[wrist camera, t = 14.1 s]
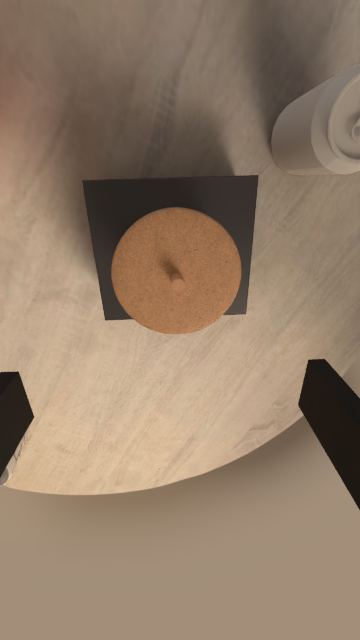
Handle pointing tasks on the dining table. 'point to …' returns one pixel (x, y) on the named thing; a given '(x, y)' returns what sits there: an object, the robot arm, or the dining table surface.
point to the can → (321, 128)
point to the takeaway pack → (158, 193)
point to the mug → (13, 461)
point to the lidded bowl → (176, 270)
